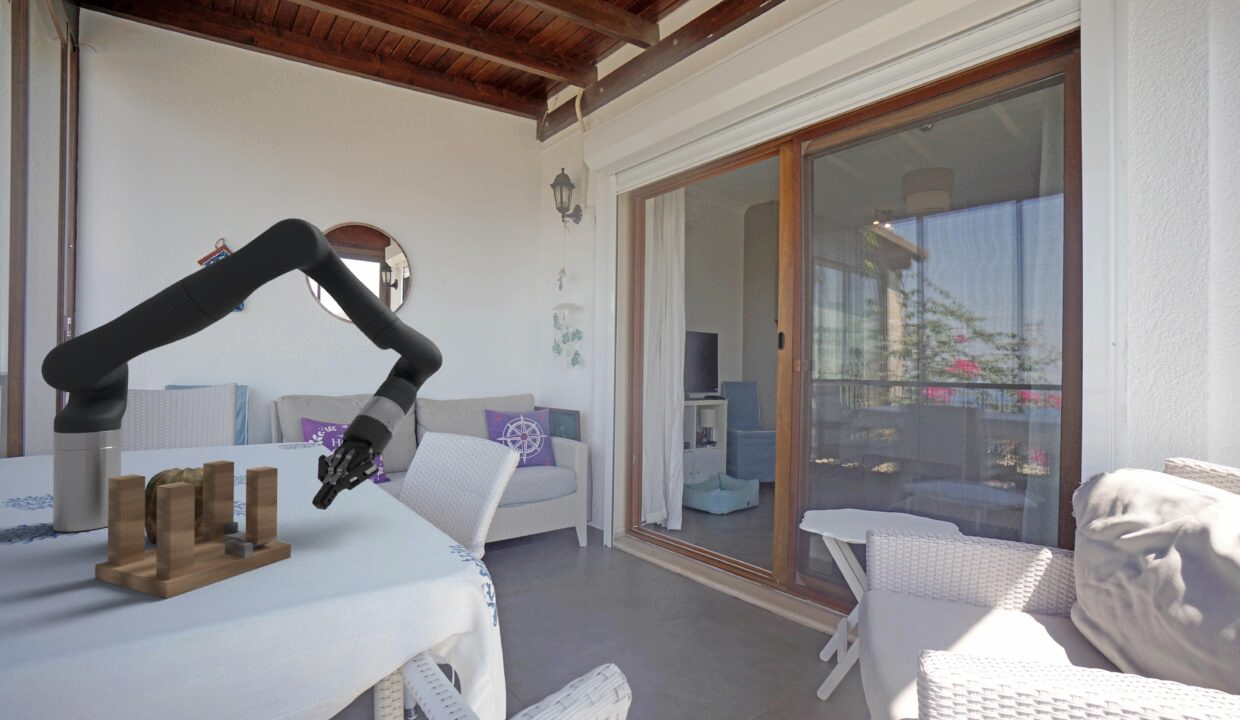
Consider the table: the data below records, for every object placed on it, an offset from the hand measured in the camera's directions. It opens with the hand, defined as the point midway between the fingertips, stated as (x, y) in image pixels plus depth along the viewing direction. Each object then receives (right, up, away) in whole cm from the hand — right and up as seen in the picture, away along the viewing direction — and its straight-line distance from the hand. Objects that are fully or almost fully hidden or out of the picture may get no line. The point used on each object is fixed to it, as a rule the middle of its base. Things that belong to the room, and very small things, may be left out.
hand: (318, 506), depth 102 cm
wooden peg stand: (-12, -6, -12) cm, 18 cm away
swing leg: (-8, -4, -7) cm, 11 cm away
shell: (-24, -6, +2) cm, 25 cm away
